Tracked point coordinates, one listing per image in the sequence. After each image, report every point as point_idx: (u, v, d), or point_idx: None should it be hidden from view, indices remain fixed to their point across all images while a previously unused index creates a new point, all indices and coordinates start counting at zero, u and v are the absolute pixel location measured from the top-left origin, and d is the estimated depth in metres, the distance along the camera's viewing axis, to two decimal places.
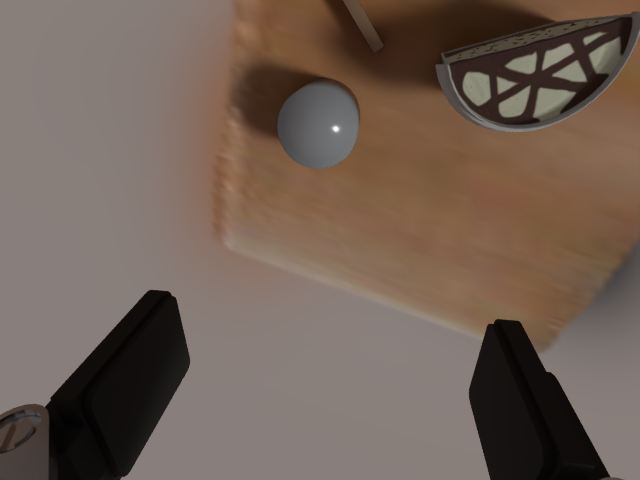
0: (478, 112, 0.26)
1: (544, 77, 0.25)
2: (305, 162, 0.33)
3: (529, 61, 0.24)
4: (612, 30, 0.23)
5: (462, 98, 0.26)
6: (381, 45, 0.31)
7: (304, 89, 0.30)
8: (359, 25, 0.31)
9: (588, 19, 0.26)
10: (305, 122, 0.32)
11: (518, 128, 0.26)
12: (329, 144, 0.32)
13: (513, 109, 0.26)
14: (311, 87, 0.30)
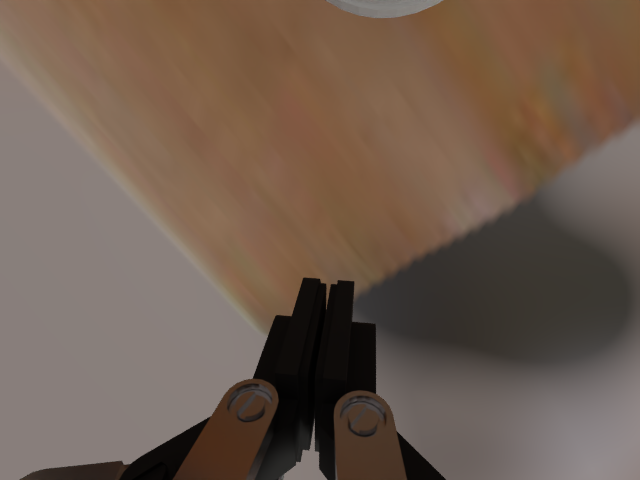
0: None
1: None
2: None
3: None
4: None
5: None
6: None
7: None
8: None
9: None
10: None
11: None
12: None
13: None
14: None
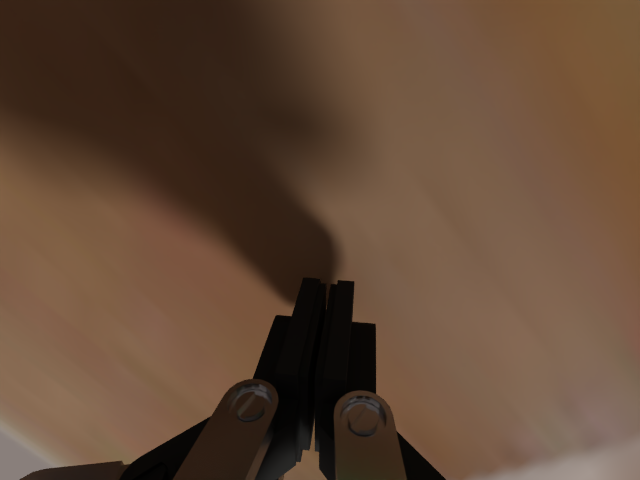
0: None
1: None
2: None
3: None
4: None
5: None
6: None
7: None
8: None
9: None
10: None
11: None
12: None
13: None
14: None
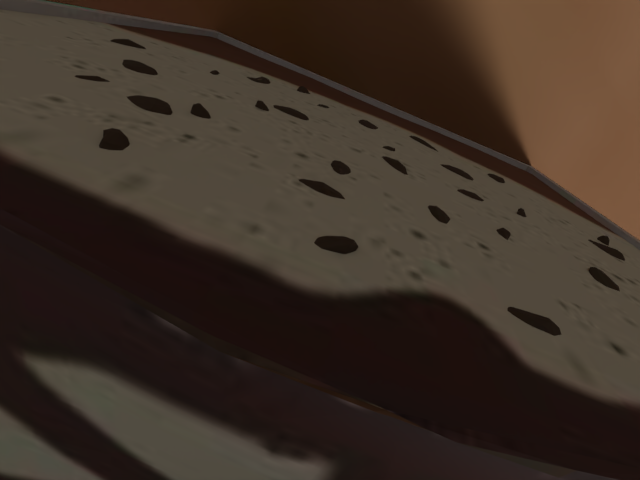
0: None
1: None
2: None
3: (239, 474, 0.02)
4: None
5: None
6: None
7: None
8: None
9: None
10: None
11: None
12: None
13: None
14: None
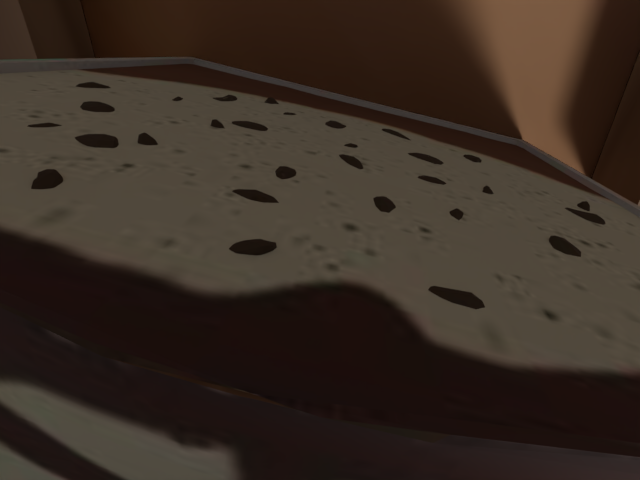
0: None
1: None
2: None
3: (170, 469, 0.02)
4: None
5: None
6: None
7: None
8: None
9: None
10: None
11: None
12: None
13: None
14: None
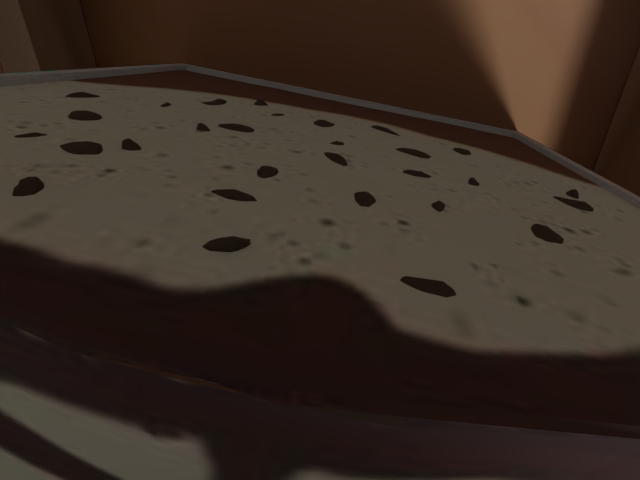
0: None
1: None
2: None
3: (148, 460, 0.02)
4: None
5: None
6: None
7: None
8: None
9: (638, 203, 0.06)
10: None
11: None
12: None
13: None
14: None
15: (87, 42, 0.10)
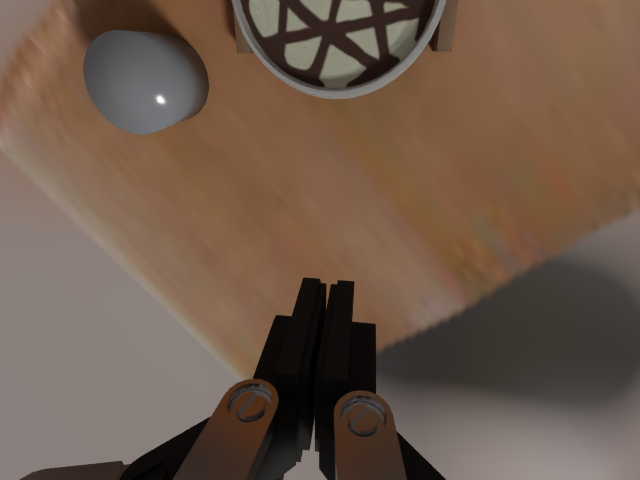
0: (260, 44, 0.21)
1: (337, 33, 0.21)
2: (104, 110, 0.28)
3: (323, 3, 0.20)
4: (413, 7, 0.20)
5: (245, 17, 0.21)
6: (247, 50, 0.28)
7: (132, 34, 0.25)
8: None
9: None
10: (120, 68, 0.26)
11: (296, 82, 0.21)
12: (137, 109, 0.27)
13: (300, 60, 0.22)
14: (141, 37, 0.25)
15: None
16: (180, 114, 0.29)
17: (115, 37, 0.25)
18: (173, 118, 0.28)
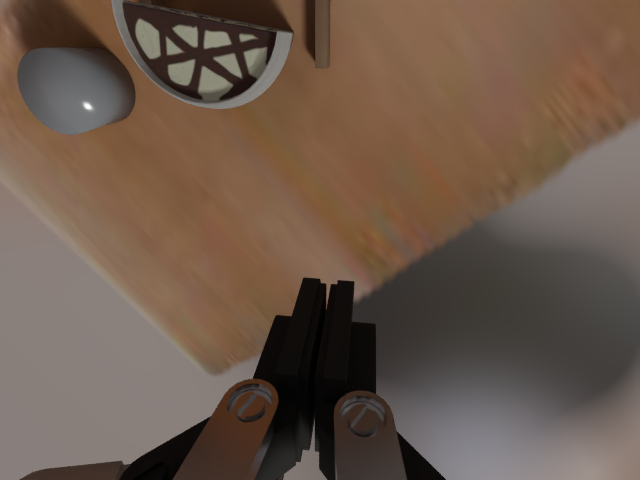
0: (148, 65, 0.26)
1: (206, 57, 0.26)
2: (37, 114, 0.33)
3: (191, 33, 0.25)
4: (262, 38, 0.25)
5: (133, 43, 0.26)
6: None
7: (55, 51, 0.30)
8: None
9: (285, 32, 0.28)
10: (47, 79, 0.31)
11: (177, 96, 0.27)
12: (64, 113, 0.32)
13: (181, 77, 0.27)
14: (63, 54, 0.30)
15: (161, 5, 0.33)
16: (104, 117, 0.34)
17: (41, 53, 0.30)
18: (96, 121, 0.33)
